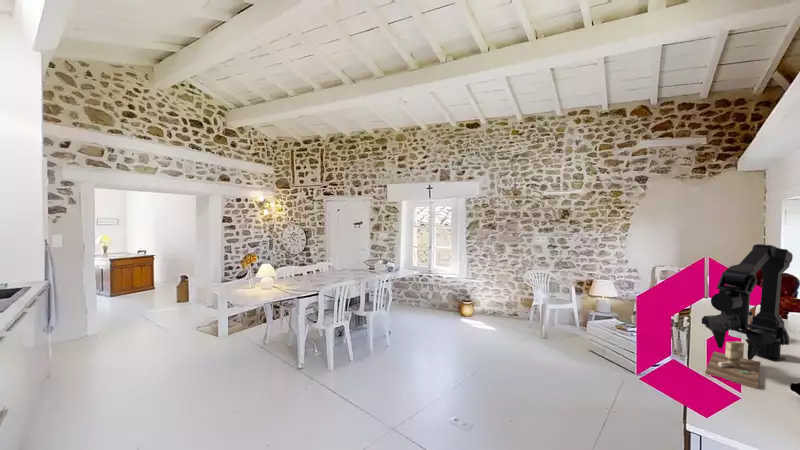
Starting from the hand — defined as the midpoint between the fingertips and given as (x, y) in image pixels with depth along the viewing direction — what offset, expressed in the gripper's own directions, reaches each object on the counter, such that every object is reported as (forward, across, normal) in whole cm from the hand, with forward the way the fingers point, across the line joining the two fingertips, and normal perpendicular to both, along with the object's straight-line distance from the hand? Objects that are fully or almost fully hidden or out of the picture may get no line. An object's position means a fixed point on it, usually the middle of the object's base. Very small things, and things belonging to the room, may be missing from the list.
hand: (734, 353), depth 118 cm
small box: (+6, -26, +37) cm, 45 cm away
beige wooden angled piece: (+4, 0, -2) cm, 4 cm away
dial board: (+6, 0, 0) cm, 6 cm away
